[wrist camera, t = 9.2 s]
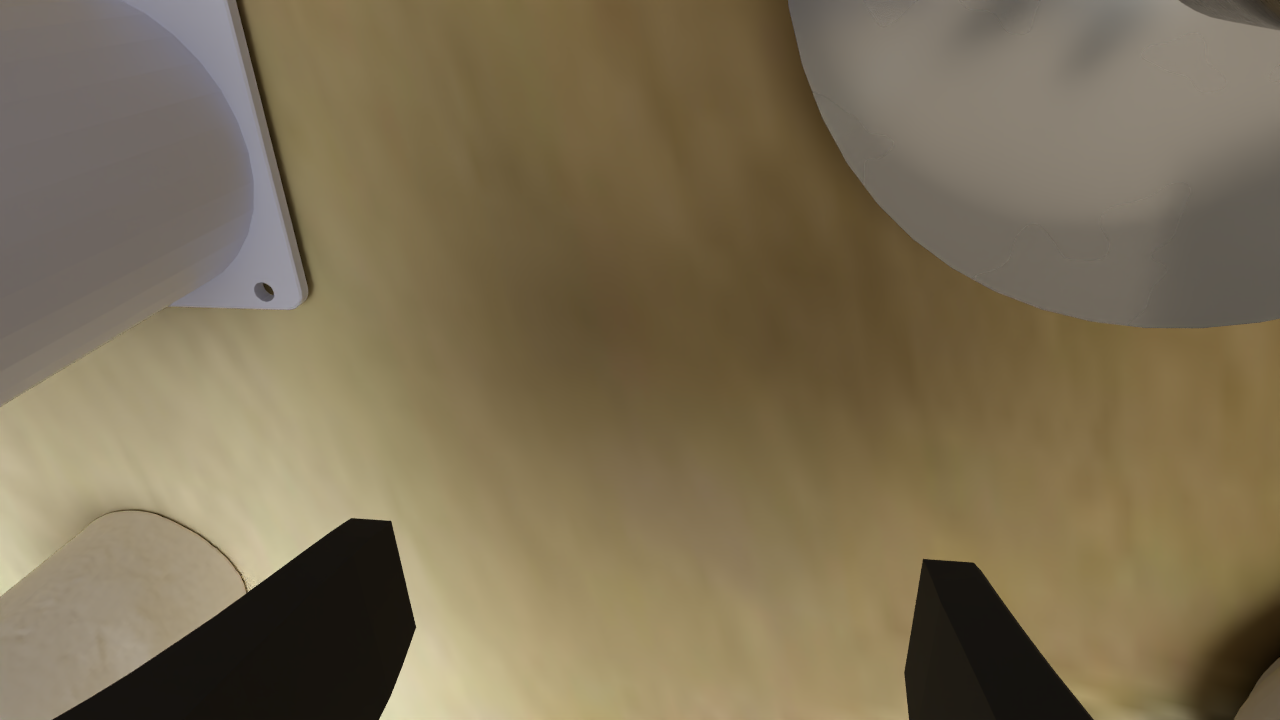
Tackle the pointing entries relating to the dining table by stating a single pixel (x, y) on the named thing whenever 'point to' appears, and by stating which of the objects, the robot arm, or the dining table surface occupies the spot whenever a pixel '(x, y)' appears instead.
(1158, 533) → the dining table surface
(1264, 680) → the teacup
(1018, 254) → the steel lid
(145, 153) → the robot arm
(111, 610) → the roll
